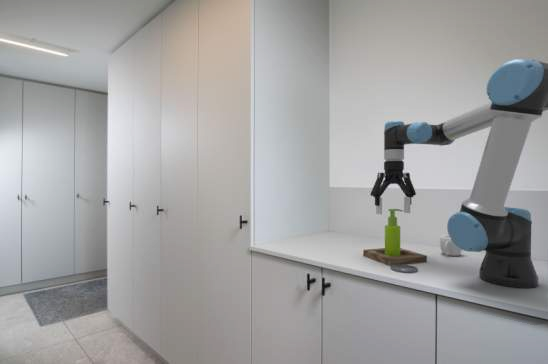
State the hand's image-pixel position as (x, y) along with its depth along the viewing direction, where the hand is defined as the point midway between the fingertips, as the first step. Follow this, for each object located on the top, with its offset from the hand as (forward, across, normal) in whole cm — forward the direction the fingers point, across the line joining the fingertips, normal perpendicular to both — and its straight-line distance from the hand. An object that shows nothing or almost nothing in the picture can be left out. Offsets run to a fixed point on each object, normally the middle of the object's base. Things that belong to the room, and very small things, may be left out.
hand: (393, 213), depth 132 cm
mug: (+18, -26, +4) cm, 32 cm away
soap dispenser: (+18, 0, 0) cm, 18 cm away
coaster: (+18, +7, +14) cm, 24 cm away
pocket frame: (+18, 0, 0) cm, 18 cm away
